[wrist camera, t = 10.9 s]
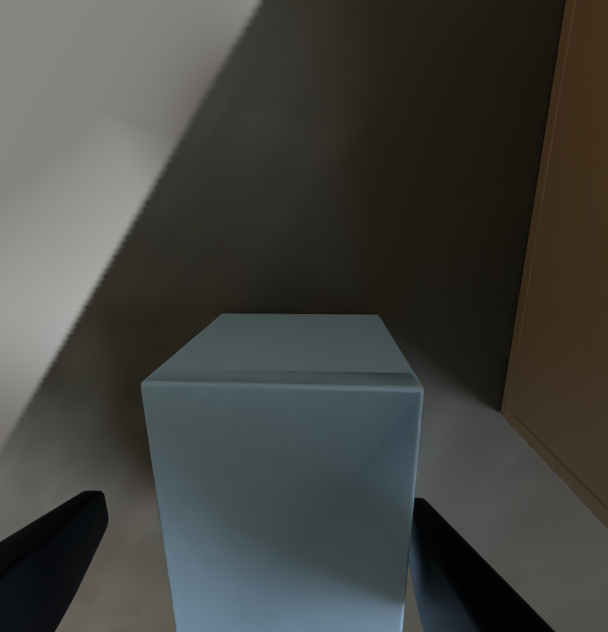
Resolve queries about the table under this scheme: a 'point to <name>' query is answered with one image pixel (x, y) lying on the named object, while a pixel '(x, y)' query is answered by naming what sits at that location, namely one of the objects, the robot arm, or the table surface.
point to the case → (286, 473)
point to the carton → (568, 272)
